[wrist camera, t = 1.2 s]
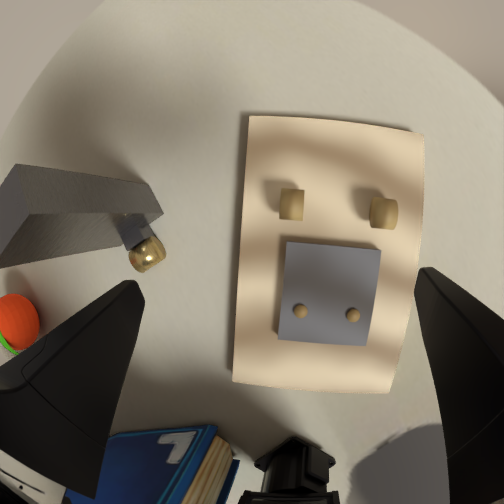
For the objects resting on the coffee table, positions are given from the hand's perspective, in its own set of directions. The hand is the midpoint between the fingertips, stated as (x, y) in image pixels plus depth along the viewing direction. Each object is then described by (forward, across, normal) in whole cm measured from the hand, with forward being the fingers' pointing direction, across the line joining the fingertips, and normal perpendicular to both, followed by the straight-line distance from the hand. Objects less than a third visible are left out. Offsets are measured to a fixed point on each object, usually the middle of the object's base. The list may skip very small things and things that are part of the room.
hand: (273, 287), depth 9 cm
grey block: (+14, +13, +5) cm, 19 cm away
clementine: (+10, +32, +13) cm, 36 cm away
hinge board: (+12, -3, +8) cm, 15 cm away
